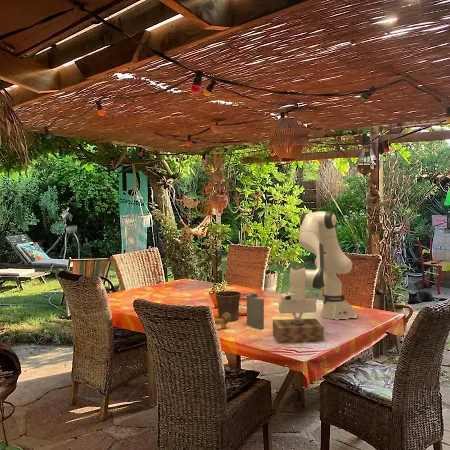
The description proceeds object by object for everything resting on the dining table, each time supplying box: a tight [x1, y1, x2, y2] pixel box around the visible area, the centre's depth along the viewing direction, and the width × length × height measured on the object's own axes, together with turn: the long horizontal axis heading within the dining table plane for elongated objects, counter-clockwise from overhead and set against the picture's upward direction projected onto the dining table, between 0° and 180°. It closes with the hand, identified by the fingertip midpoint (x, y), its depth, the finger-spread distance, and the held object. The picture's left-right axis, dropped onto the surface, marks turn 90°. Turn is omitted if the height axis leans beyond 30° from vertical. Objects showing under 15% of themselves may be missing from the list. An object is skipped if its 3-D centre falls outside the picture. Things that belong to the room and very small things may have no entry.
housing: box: [272, 318, 325, 344], centre depth 251 cm, size 24×16×8 cm, turn 95°
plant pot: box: [214, 290, 242, 322], centre depth 288 cm, size 16×16×16 cm
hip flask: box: [246, 291, 265, 331], centre depth 272 cm, size 16×4×20 cm, turn 29°
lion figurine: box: [213, 313, 230, 330], centre depth 267 cm, size 15×5×9 cm, turn 123°
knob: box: [291, 318, 304, 325], centre depth 250 cm, size 7×7×7 cm
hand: (297, 320), depth 250 cm, fingers closed
